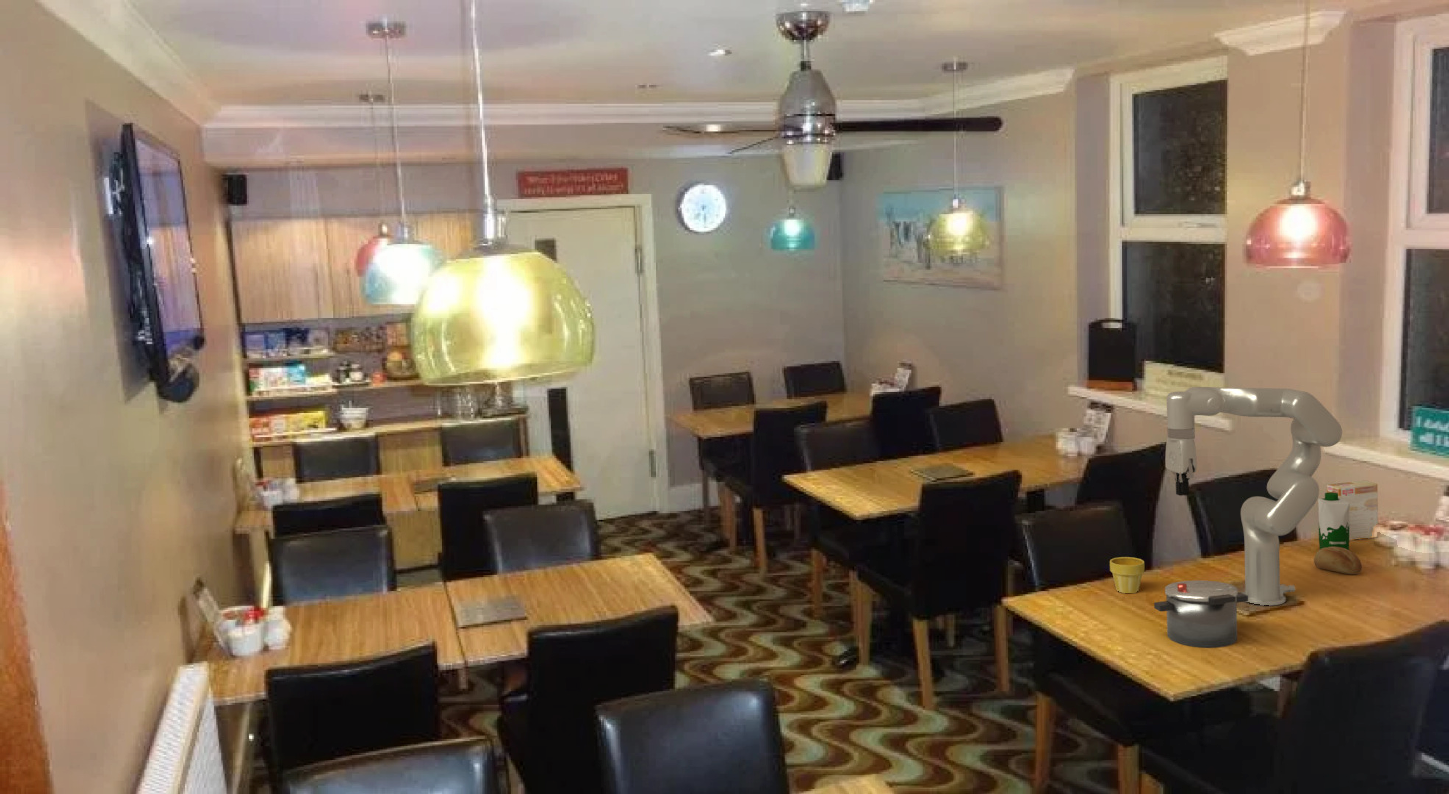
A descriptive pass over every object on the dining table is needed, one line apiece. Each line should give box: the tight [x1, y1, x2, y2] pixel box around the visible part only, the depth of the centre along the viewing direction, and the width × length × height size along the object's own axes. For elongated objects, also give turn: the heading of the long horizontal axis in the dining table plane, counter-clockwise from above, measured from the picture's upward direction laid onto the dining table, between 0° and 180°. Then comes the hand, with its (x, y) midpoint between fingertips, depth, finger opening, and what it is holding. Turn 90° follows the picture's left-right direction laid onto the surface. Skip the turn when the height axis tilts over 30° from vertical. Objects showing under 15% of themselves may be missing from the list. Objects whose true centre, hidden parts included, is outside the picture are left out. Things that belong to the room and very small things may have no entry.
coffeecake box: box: [1326, 479, 1379, 541], centre depth 400 cm, size 15×7×20 cm, turn 97°
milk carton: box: [1317, 492, 1350, 550], centre depth 384 cm, size 9×9×20 cm
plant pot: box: [1109, 556, 1145, 594], centre depth 360 cm, size 10×10×10 cm
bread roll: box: [1313, 547, 1363, 575], centre depth 364 cm, size 10×15×8 cm, turn 30°
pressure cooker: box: [1153, 592, 1248, 649], centre depth 316 cm, size 26×19×12 cm
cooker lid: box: [1164, 580, 1239, 604], centre depth 313 cm, size 19×22×3 cm
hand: (1182, 494), depth 335 cm, fingers closed
